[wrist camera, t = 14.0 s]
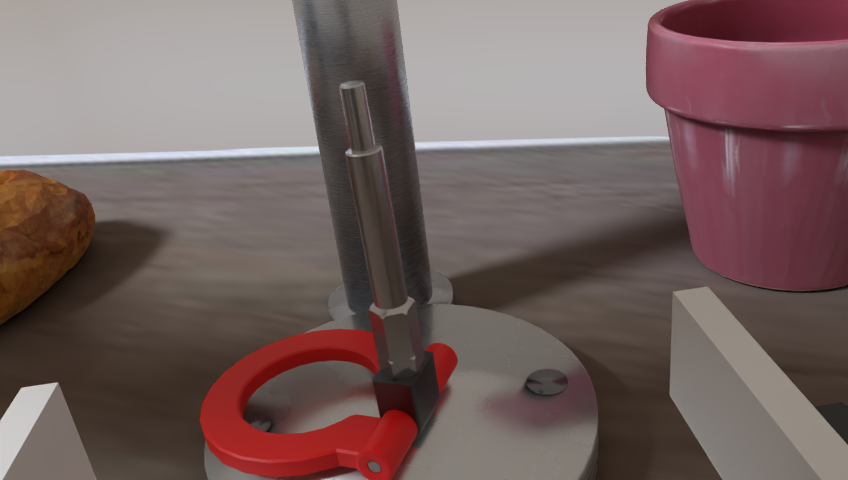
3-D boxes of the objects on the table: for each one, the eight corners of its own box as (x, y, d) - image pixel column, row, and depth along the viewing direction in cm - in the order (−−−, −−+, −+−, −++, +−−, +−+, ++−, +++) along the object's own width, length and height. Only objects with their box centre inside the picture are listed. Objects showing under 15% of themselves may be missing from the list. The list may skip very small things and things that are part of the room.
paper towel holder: (181, 643, 24) (-291, -607, 11) (255, 304, 42) (106, -307, 30) (659, 569, 24) (696, -709, 12) (523, 266, 43) (484, -351, 30)
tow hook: (161, 466, 28) (387, 510, 25) (39, 133, 23) (306, 127, 19) (279, 342, 35) (469, 362, 32) (207, 63, 30) (426, 49, 26)
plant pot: (640, 198, 49) (642, -8, 43) (885, 195, 46) (922, -30, 40) (647, 319, 37) (652, 52, 31) (985, 326, 33) (1058, 27, 28)
